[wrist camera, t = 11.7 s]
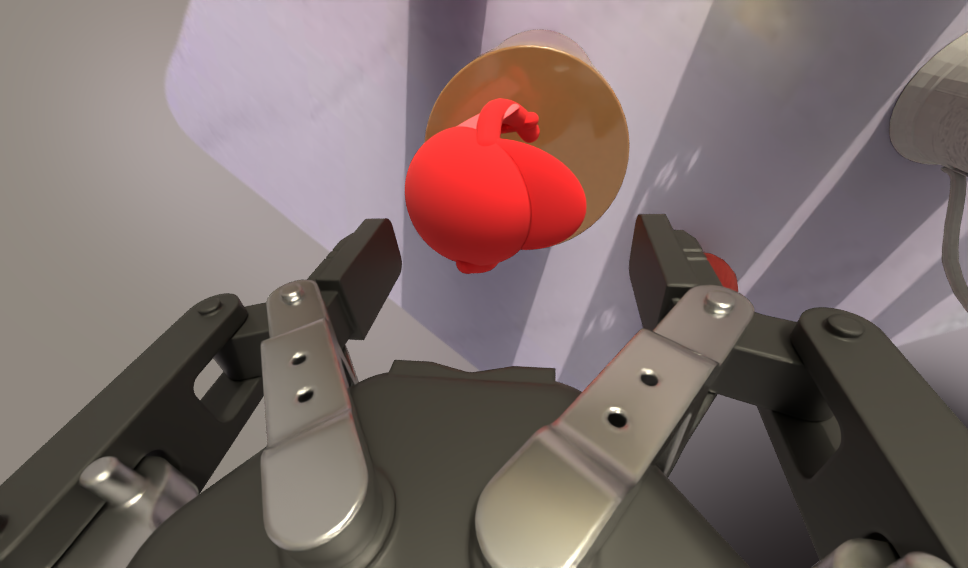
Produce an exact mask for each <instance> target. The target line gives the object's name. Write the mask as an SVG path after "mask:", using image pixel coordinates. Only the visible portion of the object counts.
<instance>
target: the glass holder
mask: <svg viewBox="0 0 968 568" xmlns="http://www.w3.org/2000/svg"><path fill="white" fill-rule="evenodd" d="M889 133H890V138H891V142H892V144H893V146H894V148H895V149H896V151H897V152H898V153H900V154H901V155H902V156H903V157H905V158H907V159H909V160H911V161H914V162H918V163H922V164H934V165H942V166H944V167H943V168H941V170H942V171H943V172H945V173H947V174H948V175H949V176H950V180H951V181H950V195H949V201H948V207H947V214H946V219H945V225H944V236H943V244H942V263H943V267H944V270H945V273H946V277H947V279H948V281H949V284H950V286H951V288H952V290H953V293H954V295H955V296H956V297H957V299H958V300H959V301H960V303H961V304H962V306H963V307H964V308H965V310H966V311H967V312H968V287H967V285H966V282H965V280H964V278H963V275H962V271H961V268H960V264H959V251H958V247H959V233H960V224H961V220H962V215H963V209H964V202H965V196H966V176H967V177H968V32H967V33H965V34H964V35H962V36H961V37H959V38H958V39H956V40H955V41H953V42H952V43H950V44H949V45H948V46H946V47H945V48H944V49H943V50H941V51H940V52H939V53H938V54H936V55H935V56H934V57H933V58H932V59H931V60H930V61H928V62H927V63H926V64H925V65H924V66H923V67H922V68H921V69H920V70H919V71H918V73H917V74H916V75H915V76H914V77H913V79H912V80H911V81H910V82H909V83H908V85H907V86H906V88H905V89H904V91H903V92H902V94H901V95H900V97H899V99H898V101H897V103H896V105H895V107H894V110H893V113H892V116H891V120H890V130H889Z"/></svg>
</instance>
